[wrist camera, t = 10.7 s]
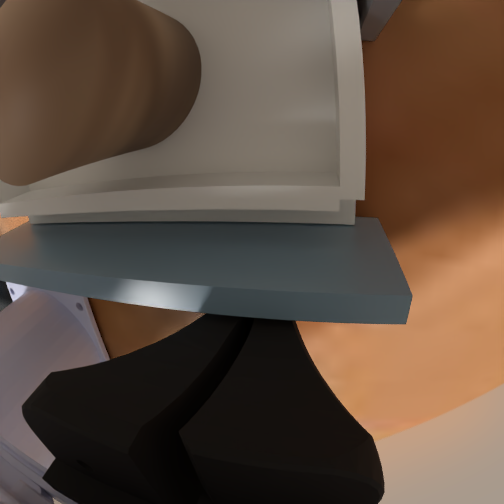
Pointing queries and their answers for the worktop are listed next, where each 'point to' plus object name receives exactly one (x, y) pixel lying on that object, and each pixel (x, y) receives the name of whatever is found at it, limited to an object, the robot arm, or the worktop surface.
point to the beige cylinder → (88, 83)
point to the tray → (230, 185)
